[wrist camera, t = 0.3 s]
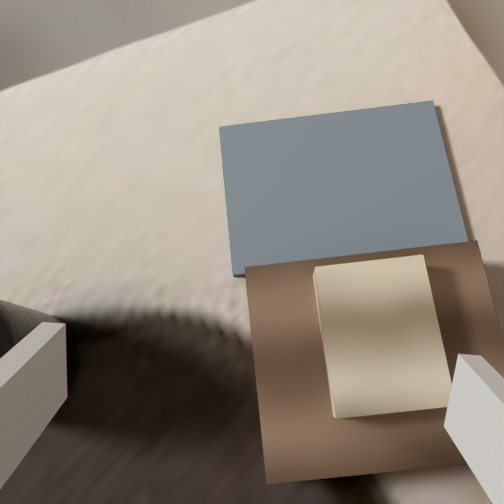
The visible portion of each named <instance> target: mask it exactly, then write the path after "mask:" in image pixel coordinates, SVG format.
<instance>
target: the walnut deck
mask: <svg viewBox="0 0 504 504" xmlns="http://www.w3.org/2000/svg"><path fill="white" fill-rule="evenodd" d="M414 255H423V256H424V260H425V265H426V269H427V274H428V278H429V283H430V287H431V292H432V296H433V301H434V305H435V310H436V314H437V319H438V324H439V328H440V333H441V337H442V342H443V346H444V351H445V355H446V360H447V364H448V369H449V373H450V378H451V383H452V382H453V377H454V372H455V367H456V362H457V358H458V354H468V355H481V356H482V357H483V358H484V359H485V360H486V361H487V362H488V363H489V364H490V365H491V366H492V367H493V368H494V369H495V370H496V371H497V372H498V373H499V374H500V375H501V376H502V377H503V378H504V342H503V338H502V335H501V331H500V327H499V323H498V319H497V315H496V311H495V307H494V304H493V300H492V296H491V292H490V288H489V284H488V280H487V277H486V273H485V269H484V265H483V261H482V257H481V253H480V249H479V246H478V242H477V240H476V241H467V242H458V243H450V244H441V245H432V246H424V247H415V248H406V249H398V250H389V251H380V252H371V253H363V254H354V255H345V256H337V257H328V258H319V259H311V260H302V261H293V262H285V263H276V264H267V265H258V266H250V267H245V277H246V286H247V296H248V306H249V316H250V326H251V336H252V345H253V355H254V365H255V375H256V385H257V395H258V404H259V414H260V424H261V434H262V444H263V454H264V463H265V473H266V483H267V484H276V483H286V482H295V481H305V480H315V479H325V478H334V477H344V476H354V475H364V474H373V473H383V472H393V471H403V470H412V469H422V468H432V467H441V466H451V465H461V464H467V462H466V461H465V459H464V458H463V456H462V454H461V453H460V451H459V450H458V448H457V446H456V445H455V443H454V442H453V440H452V438H451V437H450V435H449V434H448V432H447V431H446V429H445V427H444V422H445V417H446V412H447V407H443V408H433V409H424V410H414V411H405V412H395V413H386V414H377V415H367V416H358V417H348V418H339V419H337V418H335V417H333V411H332V405H331V398H330V391H329V384H328V377H327V370H326V363H325V357H324V350H323V343H322V336H321V329H320V322H319V315H318V308H317V302H316V295H315V288H314V281H313V273H314V269H315V267H318V266H327V265H335V264H344V263H353V262H362V261H370V260H379V259H388V258H397V257H405V256H414Z"/></svg>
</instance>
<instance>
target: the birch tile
mask: <svg viewBox="0 0 504 504" xmlns="http://www.w3.org/2000/svg"><path fill="white" fill-rule="evenodd" d="M313 281H314V288H315V295H316V302H317V308H318V315H319V322H320V329H321V336H322V343H323V350H324V357H325V363H326V370H327V377H328V384H329V391H330V398H331V405H332V411H333V417H335V418H337V419H339V418H348V417H358V416H367V415H377V414H386V413H395V412H405V411H414V410H424V409H433V408H443V407H448V402H449V397H450V392H451V387H452V383H451V378H450V373H449V369H448V364H447V360H446V355H445V351H444V346H443V342H442V337H441V333H440V328H439V324H438V319H437V314H436V310H435V305H434V301H433V296H432V292H431V287H430V283H429V278H428V274H427V269H426V265H425V260H424V256H423V255H414V256H405V257H397V258H388V259H379V260H370V261H362V262H353V263H344V264H335V265H327V266H318V267H315V269H314V273H313Z"/></svg>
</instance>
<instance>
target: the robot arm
mask: <svg viewBox="0 0 504 504" xmlns="http://www.w3.org/2000/svg"><path fill="white" fill-rule="evenodd" d="M66 398H67V365H66V324H64V323H51V322H42V323H41V324H40V325H38V326H37V327H36V328H35V329H34V330H33V331H31V332H30V333H29V334H28V335H27V336H26V337H25V338H23V339H22V340H21V341H20V342H19V343H18V344H17V345H15V346H14V347H13V348H12V349H11V350H10V351H9V352H7V353H6V354H5V355H4V356H3V357H2V358H0V489H1V488H2V487H3V485H4V484H5V482H6V481H7V480H8V478H9V477H10V476H11V474H12V473H13V471H14V470H15V469H16V467H17V466H18V465H19V463H20V462H21V460H22V459H23V458H24V456H25V455H26V454H27V452H28V451H29V449H30V448H31V447H32V445H33V444H34V443H35V441H36V440H37V438H38V437H39V436H40V434H41V433H42V432H43V430H44V429H45V427H46V426H47V425H48V423H49V422H50V421H51V419H52V418H53V416H54V415H55V414H56V412H57V411H58V409H59V408H60V407H61V405H62V404H63V403H64V401H65V400H66ZM444 427H445V429H446V431H447V432H448V434H449V435H450V437H451V438H452V440H453V442H454V443H455V445H456V446H457V448H458V450H459V451H460V453H461V454H462V456H463V458H464V459H465V461H466V462H467V464H468V465H469V467H470V469H471V470H472V472H473V473H474V475H475V477H476V478H477V480H478V481H479V483H480V485H481V486H482V488H483V489H484V491H485V492H486V494H487V496H488V497H489V499H490V500H491V502H492V504H504V378H503V377H502V376H501V375H500V374H499V373H498V372H497V371H496V370H495V369H494V368H493V367H492V366H491V365H490V364H489V363H488V362H487V361H486V360H485V359H484V358H483V357H482V356H481V355H468V354H458V358H457V362H456V367H455V372H454V377H453V382H452V387H451V392H450V397H449V402H448V407H447V412H446V417H445V422H444Z"/></svg>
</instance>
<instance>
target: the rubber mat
mask: <svg viewBox="0 0 504 504" xmlns="http://www.w3.org/2000/svg"><path fill="white" fill-rule="evenodd" d="M219 132H220V143H221V153H222V164H223V175H224V185H225V196H226V207H227V217H228V228H229V239H230V249H231V260H232V271H233V276H234V277H236V276H245V267H250V266H258V265H267V264H276V263H285V262H293V261H302V260H311V259H319V258H328V257H337V256H345V255H354V254H363V253H371V252H380V251H389V250H398V249H406V248H415V247H424V246H432V245H441V244H450V243H458V242H467V241H468V238H467V234H466V230H465V226H464V222H463V218H462V214H461V210H460V206H459V202H458V198H457V194H456V190H455V186H454V182H453V178H452V174H451V170H450V166H449V162H448V158H447V154H446V150H445V146H444V142H443V139H442V135H441V131H440V127H439V123H438V119H437V115H436V111H435V107H434V103H433V101H425V102H417V103H409V104H401V105H393V106H385V107H377V108H368V109H360V110H352V111H344V112H336V113H328V114H320V115H312V116H303V117H295V118H287V119H279V120H271V121H263V122H255V123H246V124H238V125H230V126H222V127H219Z"/></svg>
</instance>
